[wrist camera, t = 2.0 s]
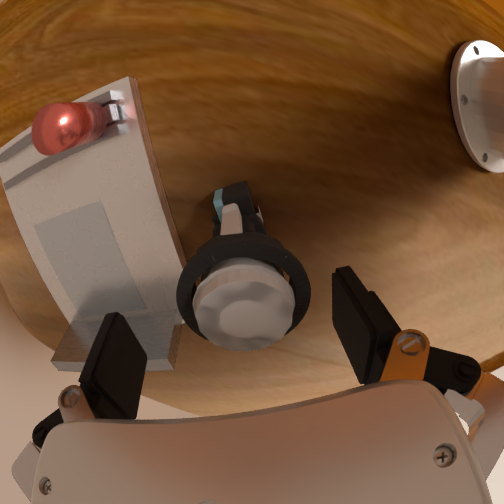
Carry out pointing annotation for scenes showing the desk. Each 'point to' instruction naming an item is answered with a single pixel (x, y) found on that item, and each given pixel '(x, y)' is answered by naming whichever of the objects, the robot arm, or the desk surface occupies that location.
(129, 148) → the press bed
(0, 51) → the desk surface
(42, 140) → the lever
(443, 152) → the desk surface
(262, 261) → the push button
